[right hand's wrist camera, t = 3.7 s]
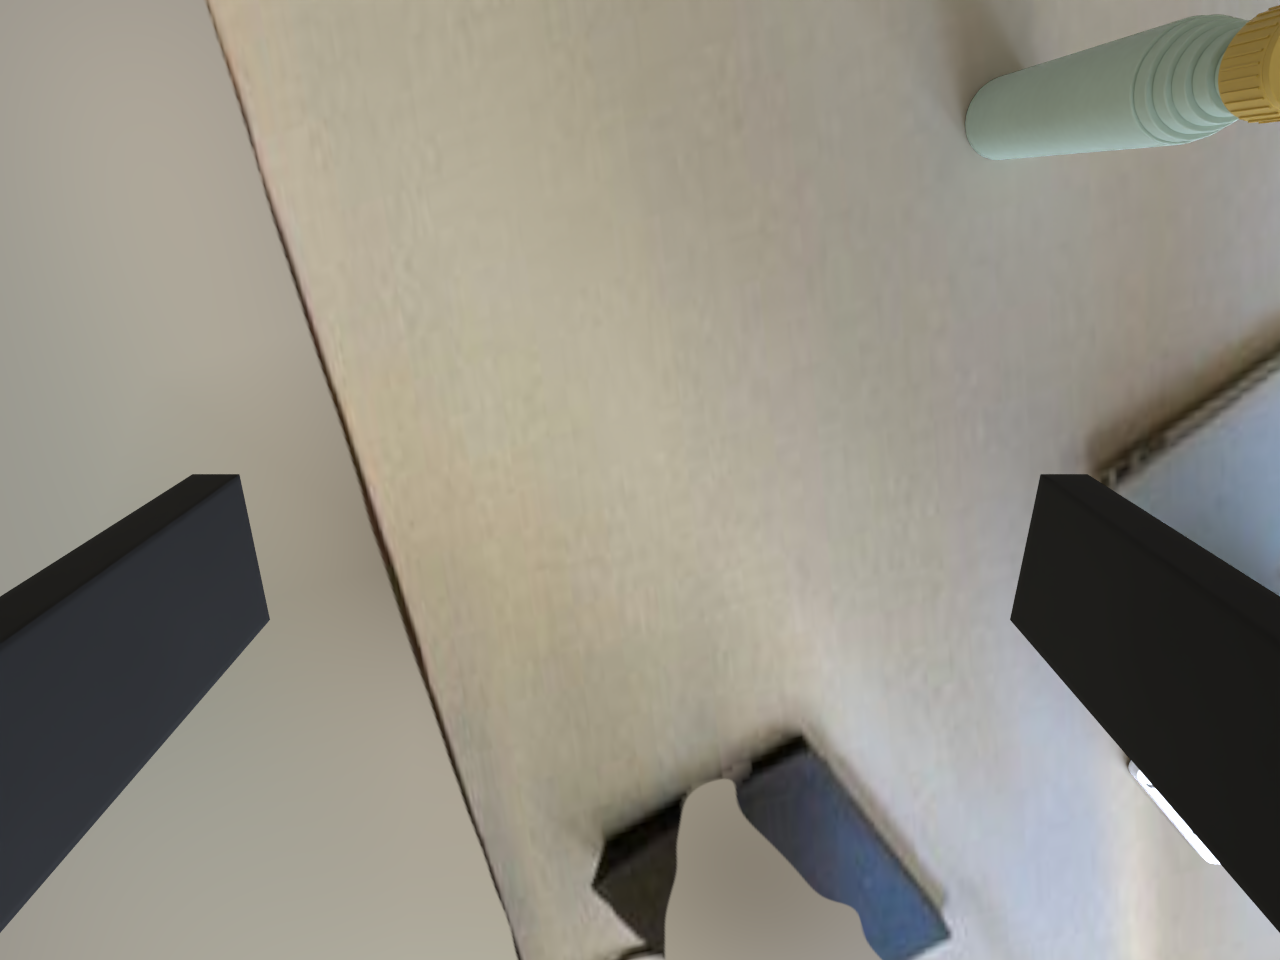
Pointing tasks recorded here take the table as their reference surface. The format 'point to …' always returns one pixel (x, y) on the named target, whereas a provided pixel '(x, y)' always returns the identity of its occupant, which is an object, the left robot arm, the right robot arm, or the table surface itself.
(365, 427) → the table surface
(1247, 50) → the cap
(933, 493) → the table surface
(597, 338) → the table surface
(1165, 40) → the bottle
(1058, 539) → the right robot arm
